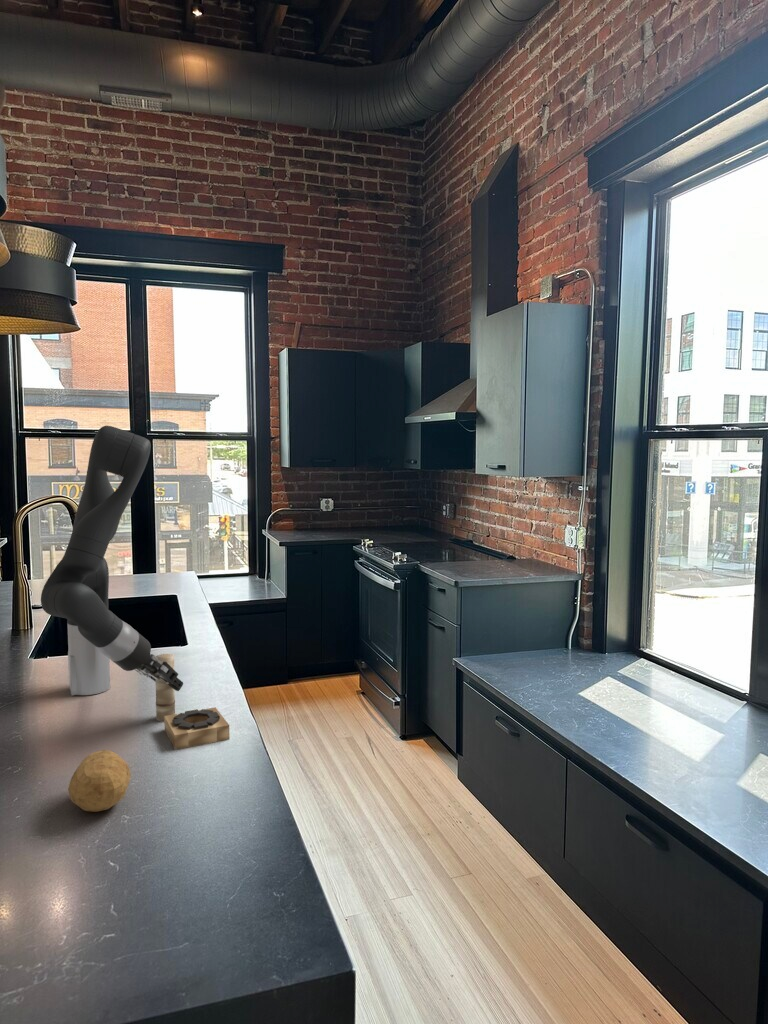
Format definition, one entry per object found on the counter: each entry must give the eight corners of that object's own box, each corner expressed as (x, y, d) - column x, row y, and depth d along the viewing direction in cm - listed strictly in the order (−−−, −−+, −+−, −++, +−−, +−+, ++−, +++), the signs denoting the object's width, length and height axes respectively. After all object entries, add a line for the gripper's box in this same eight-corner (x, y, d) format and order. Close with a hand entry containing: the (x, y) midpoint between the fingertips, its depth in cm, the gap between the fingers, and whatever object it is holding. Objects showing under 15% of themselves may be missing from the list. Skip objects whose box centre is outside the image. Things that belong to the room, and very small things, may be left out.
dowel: (157, 722, 153) (156, 660, 151) (154, 716, 156) (153, 655, 155) (177, 719, 155) (176, 657, 153) (173, 713, 158) (172, 652, 157)
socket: (175, 749, 139) (174, 732, 139) (164, 729, 149) (164, 713, 149) (229, 739, 145) (229, 722, 144) (215, 720, 154) (215, 704, 154)
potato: (130, 780, 127) (129, 738, 126) (132, 819, 114) (131, 772, 113) (71, 789, 123) (69, 746, 123) (67, 830, 110) (65, 782, 110)
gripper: (154, 635, 143) (202, 676, 154) (113, 624, 152) (161, 664, 162) (132, 666, 139) (183, 706, 150) (92, 653, 148) (142, 692, 159)
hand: (171, 684), depth 156 cm, fingers open, 5 cm apart
